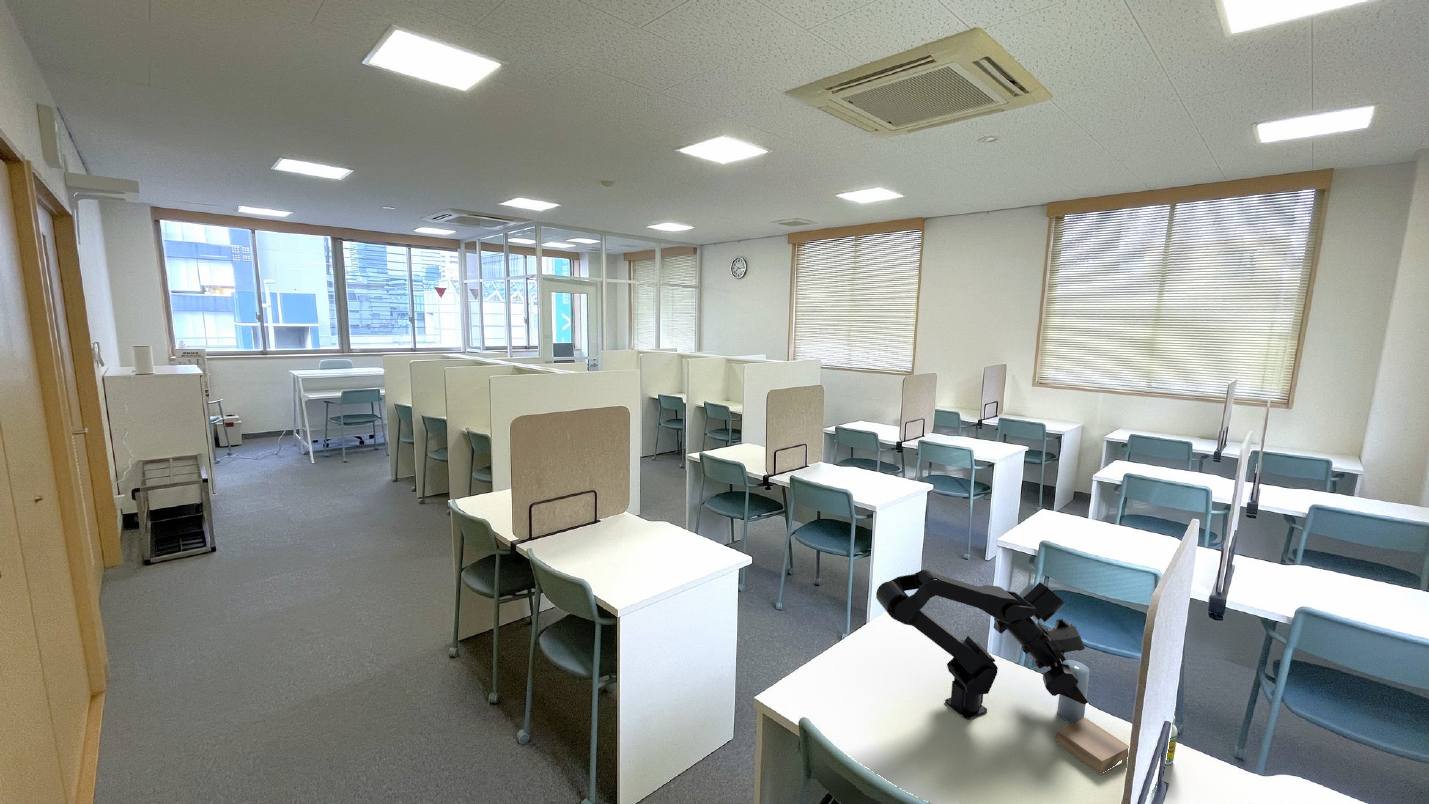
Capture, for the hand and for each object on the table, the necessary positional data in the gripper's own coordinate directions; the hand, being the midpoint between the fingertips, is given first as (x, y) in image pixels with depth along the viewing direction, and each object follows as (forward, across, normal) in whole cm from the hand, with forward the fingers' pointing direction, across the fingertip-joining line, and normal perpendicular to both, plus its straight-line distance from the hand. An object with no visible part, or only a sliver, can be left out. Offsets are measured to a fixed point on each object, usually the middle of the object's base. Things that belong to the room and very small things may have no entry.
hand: (1080, 690), depth 124 cm
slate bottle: (+4, 0, +6) cm, 7 cm away
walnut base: (+5, -10, +4) cm, 12 cm away
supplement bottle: (+14, -7, -4) cm, 16 cm away
